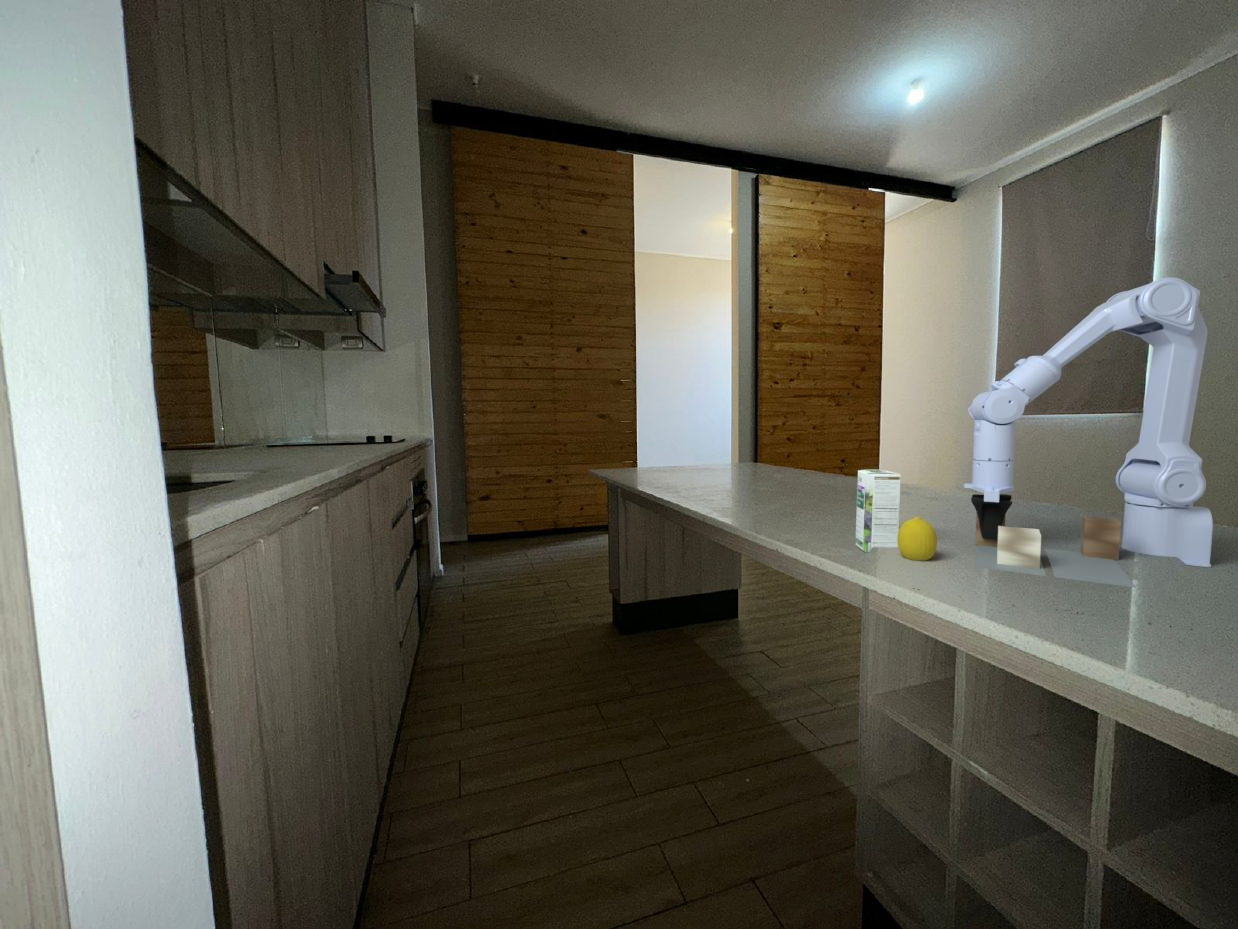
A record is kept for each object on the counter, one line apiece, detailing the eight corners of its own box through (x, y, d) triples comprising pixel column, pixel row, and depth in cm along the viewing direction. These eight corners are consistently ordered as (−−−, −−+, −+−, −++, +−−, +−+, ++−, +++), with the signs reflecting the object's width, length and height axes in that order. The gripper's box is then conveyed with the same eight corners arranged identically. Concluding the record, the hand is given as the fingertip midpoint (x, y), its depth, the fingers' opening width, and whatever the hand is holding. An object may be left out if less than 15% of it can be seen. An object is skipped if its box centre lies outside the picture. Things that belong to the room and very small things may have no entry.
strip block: (1036, 553, 85) (1038, 513, 84) (1045, 582, 70) (1048, 534, 70) (975, 546, 90) (977, 508, 89) (972, 572, 75) (974, 527, 75)
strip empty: (1114, 561, 79) (1117, 518, 78) (1141, 595, 65) (1144, 542, 64) (1044, 554, 84) (1046, 513, 83) (1054, 583, 70) (1057, 535, 69)
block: (1037, 560, 77) (1038, 529, 77) (1039, 568, 73) (1041, 535, 73) (996, 556, 80) (998, 525, 80) (997, 563, 76) (998, 531, 76)
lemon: (944, 569, 78) (945, 519, 77) (908, 570, 78) (909, 520, 77) (923, 559, 83) (924, 513, 83) (890, 560, 84) (891, 513, 83)
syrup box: (854, 545, 94) (855, 469, 92) (887, 545, 93) (889, 468, 92) (864, 553, 88) (866, 472, 87) (900, 553, 87) (902, 472, 86)
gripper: (966, 456, 94) (964, 526, 95) (963, 462, 83) (960, 542, 84) (1014, 457, 90) (1010, 530, 91) (1017, 464, 78) (1013, 548, 80)
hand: (989, 536), depth 87 cm, fingers closed on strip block, 3 cm apart
